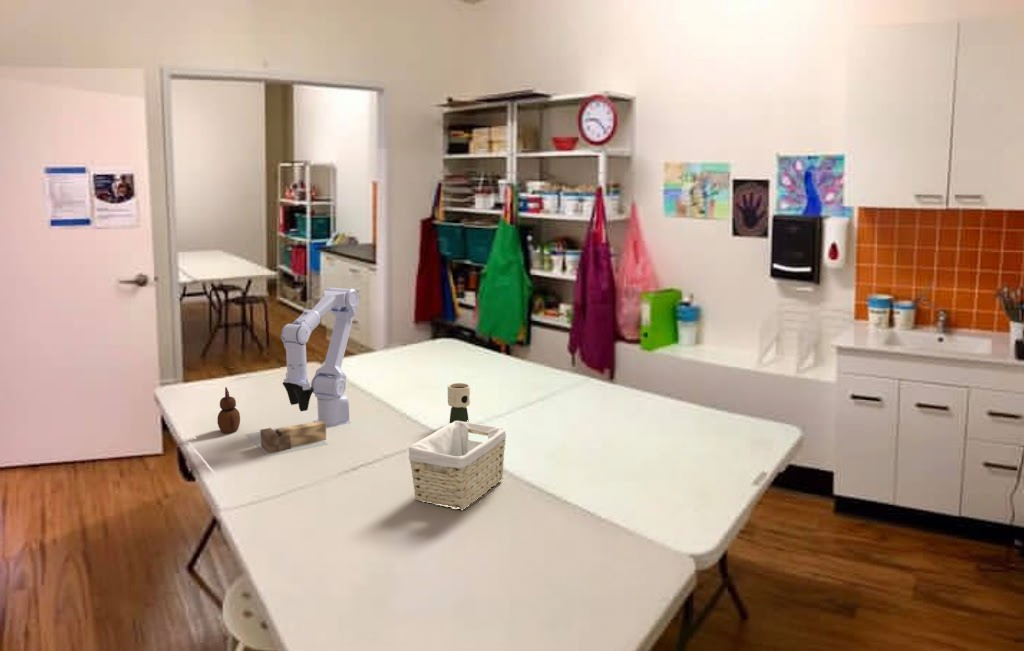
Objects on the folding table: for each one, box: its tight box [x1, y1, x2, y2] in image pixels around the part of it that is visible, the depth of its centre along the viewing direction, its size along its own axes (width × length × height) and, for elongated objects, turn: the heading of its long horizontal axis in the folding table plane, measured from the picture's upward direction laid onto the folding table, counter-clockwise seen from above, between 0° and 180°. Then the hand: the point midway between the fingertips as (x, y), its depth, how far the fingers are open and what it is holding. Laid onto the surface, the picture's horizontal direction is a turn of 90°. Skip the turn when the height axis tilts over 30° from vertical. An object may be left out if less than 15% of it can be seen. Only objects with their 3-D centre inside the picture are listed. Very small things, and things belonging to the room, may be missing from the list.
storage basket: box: [408, 421, 507, 509], centre depth 202 cm, size 24×16×15 cm
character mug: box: [447, 382, 471, 424], centre depth 253 cm, size 11×7×13 cm, turn 157°
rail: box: [275, 421, 327, 446], centre depth 236 cm, size 14×3×5 cm, turn 124°
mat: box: [245, 423, 329, 457], centre depth 239 cm, size 18×22×1 cm
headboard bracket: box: [259, 427, 291, 453], centre depth 231 cm, size 6×7×5 cm
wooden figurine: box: [216, 386, 241, 435], centre depth 244 cm, size 7×6×15 cm
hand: (299, 407), depth 239 cm, fingers open, 7 cm apart
